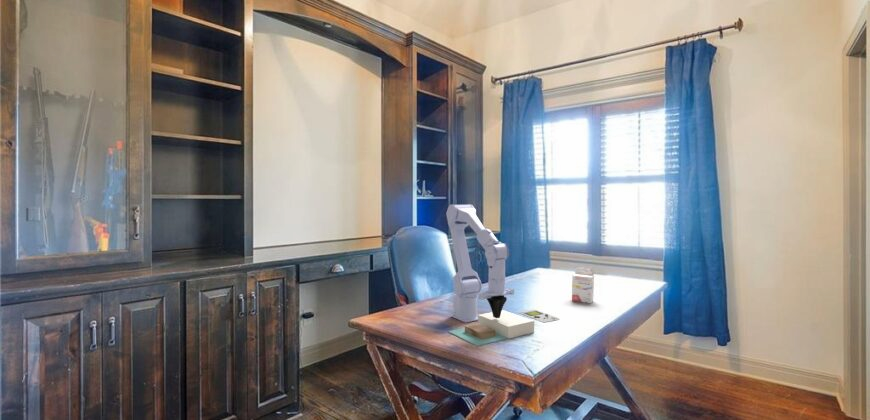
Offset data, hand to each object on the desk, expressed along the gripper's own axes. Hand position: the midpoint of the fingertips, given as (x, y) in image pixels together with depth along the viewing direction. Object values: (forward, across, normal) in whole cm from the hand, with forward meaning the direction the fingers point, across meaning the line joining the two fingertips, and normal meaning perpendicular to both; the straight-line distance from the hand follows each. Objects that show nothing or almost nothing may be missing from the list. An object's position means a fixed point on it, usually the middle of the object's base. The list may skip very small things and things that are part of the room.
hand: (496, 317), depth 144 cm
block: (+2, -7, 0) cm, 8 cm away
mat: (+5, -8, 0) cm, 10 cm away
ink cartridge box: (+5, +60, +11) cm, 61 cm away
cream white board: (+5, +4, 0) cm, 6 cm away
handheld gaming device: (+5, +26, +5) cm, 27 cm away
